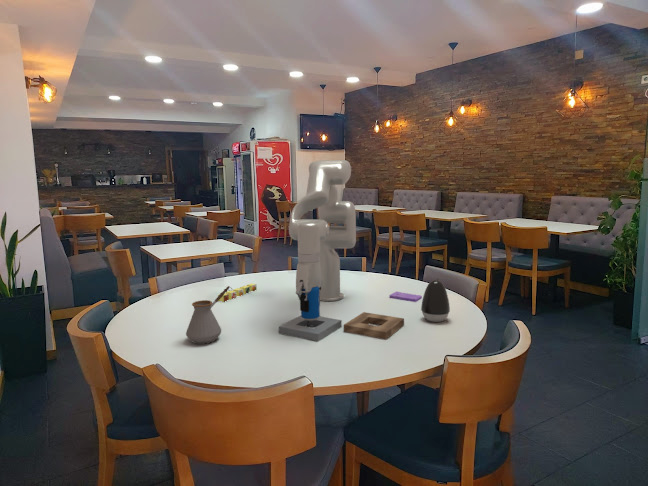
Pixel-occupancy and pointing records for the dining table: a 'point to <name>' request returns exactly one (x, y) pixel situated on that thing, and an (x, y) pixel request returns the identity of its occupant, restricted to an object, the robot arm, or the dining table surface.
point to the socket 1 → (320, 331)
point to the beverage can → (312, 305)
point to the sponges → (405, 296)
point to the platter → (238, 292)
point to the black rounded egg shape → (435, 302)
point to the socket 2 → (363, 328)
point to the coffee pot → (204, 322)
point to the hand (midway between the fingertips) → (310, 308)
